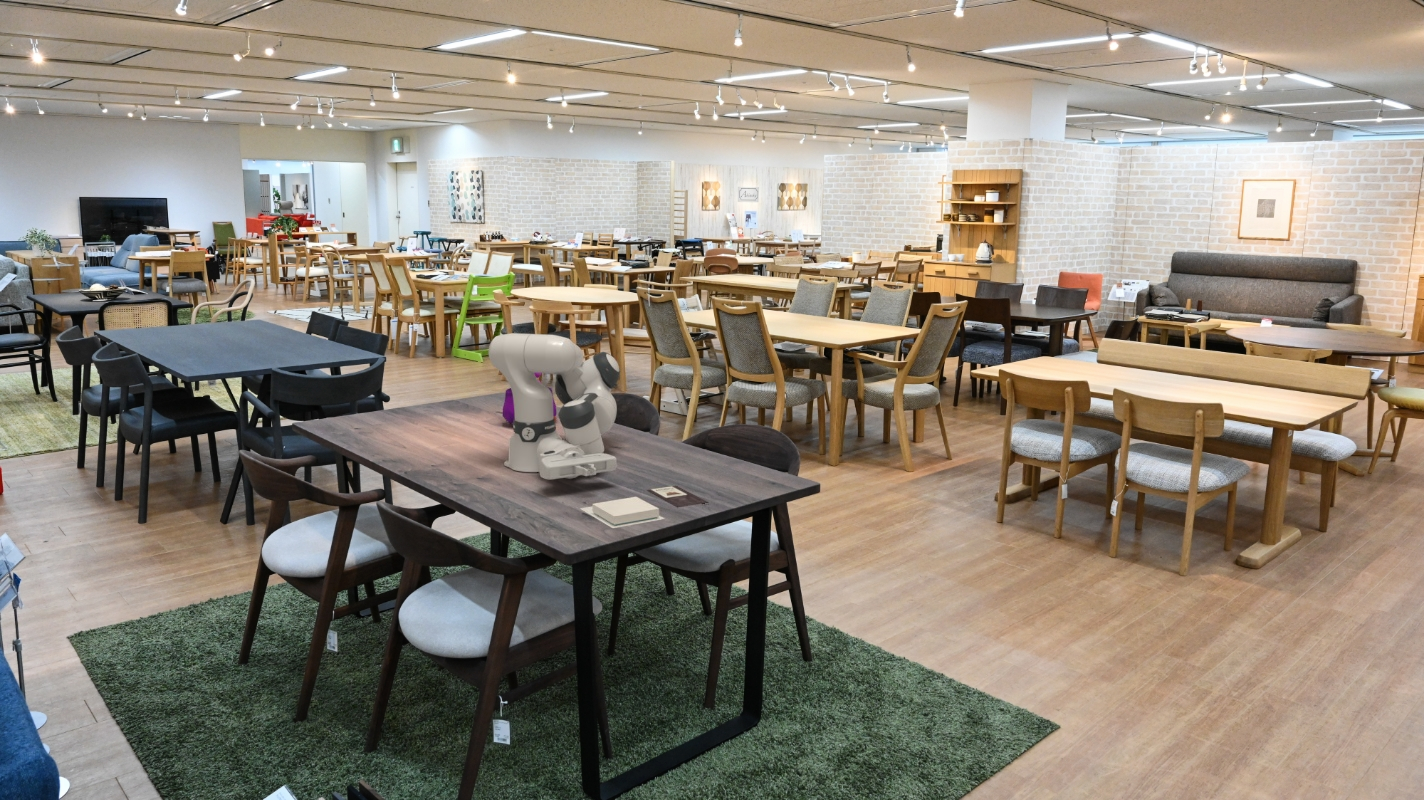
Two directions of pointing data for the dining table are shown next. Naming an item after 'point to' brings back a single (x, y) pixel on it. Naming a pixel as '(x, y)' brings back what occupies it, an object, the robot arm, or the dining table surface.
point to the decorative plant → (509, 404)
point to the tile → (625, 510)
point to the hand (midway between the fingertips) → (591, 472)
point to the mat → (590, 512)
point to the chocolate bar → (677, 496)
